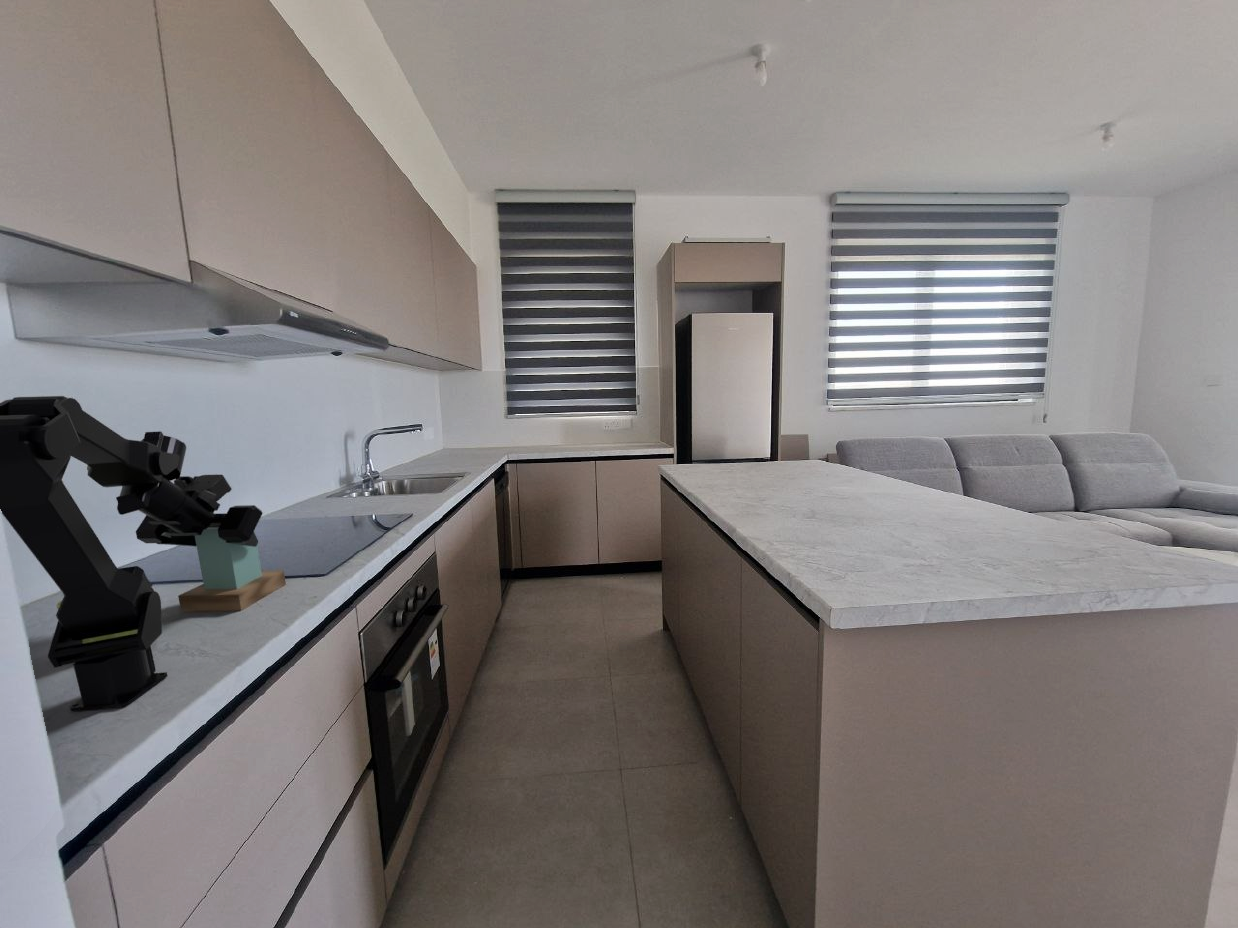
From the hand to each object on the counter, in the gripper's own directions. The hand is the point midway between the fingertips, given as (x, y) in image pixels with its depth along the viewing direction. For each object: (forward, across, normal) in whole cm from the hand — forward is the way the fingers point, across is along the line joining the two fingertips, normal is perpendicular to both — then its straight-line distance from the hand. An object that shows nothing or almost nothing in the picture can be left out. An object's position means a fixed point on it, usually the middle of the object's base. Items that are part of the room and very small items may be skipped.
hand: (234, 544), depth 88 cm
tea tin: (+4, 0, +6) cm, 7 cm away
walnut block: (+6, 0, +8) cm, 10 cm away
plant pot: (-6, +5, +20) cm, 21 cm away
